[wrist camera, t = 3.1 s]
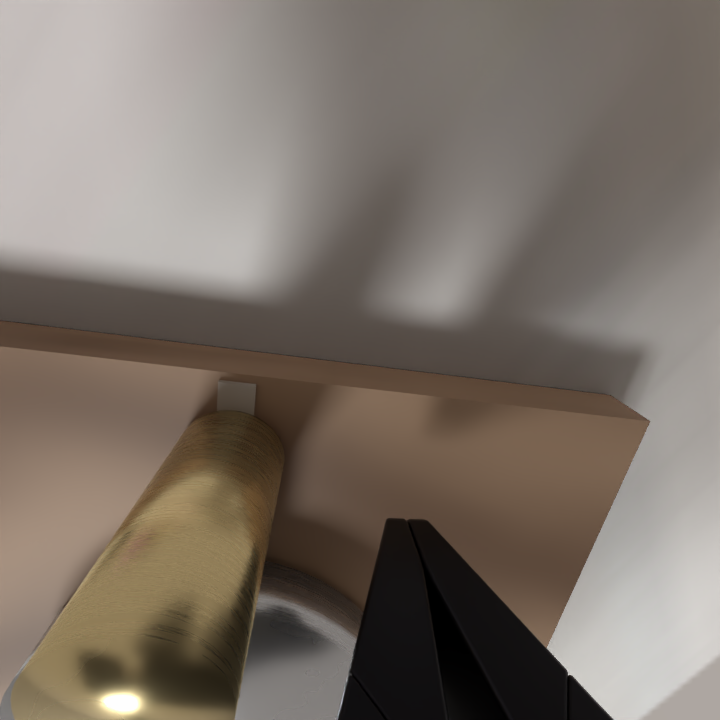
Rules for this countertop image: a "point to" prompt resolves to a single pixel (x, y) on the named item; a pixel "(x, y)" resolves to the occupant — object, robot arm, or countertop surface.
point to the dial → (195, 603)
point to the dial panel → (298, 465)
